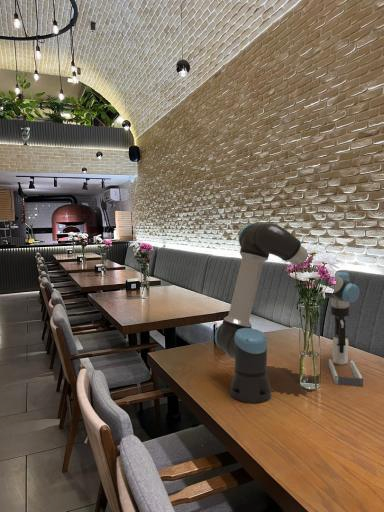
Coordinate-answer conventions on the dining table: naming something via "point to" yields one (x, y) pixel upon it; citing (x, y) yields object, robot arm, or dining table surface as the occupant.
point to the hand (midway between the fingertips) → (339, 356)
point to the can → (335, 351)
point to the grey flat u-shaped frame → (347, 380)
